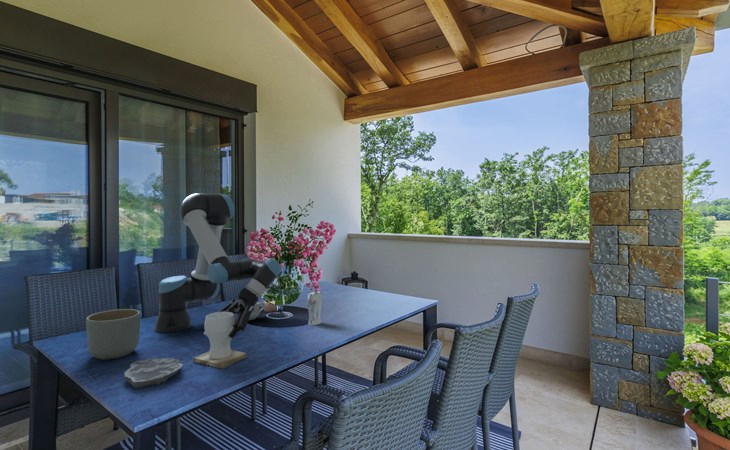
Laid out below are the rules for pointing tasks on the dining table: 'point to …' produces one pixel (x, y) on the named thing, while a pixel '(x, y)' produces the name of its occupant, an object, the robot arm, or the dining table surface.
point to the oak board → (222, 362)
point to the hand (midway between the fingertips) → (214, 340)
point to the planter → (113, 333)
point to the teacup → (256, 310)
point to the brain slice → (152, 371)
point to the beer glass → (314, 307)
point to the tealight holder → (269, 307)
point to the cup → (218, 333)
